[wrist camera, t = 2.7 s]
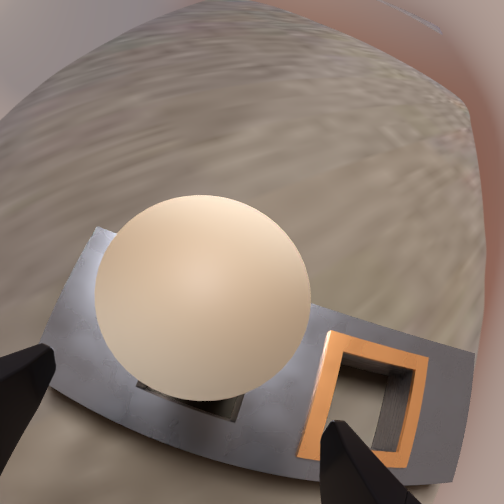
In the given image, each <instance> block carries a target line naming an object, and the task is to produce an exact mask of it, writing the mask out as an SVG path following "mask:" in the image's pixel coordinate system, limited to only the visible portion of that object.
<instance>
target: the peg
mask: <svg viewBox="0 0 504 504" xmlns="http://www.w3.org/2000/svg"><path fill="white" fill-rule="evenodd" d="M94 294H95V310H96V316H97V321H98V324H99V327H100V330H101V333H102V335H103V338H104V340H105V342H106V344H107V346H108V347H109V349H110V350H111V352H112V353H113V355H114V356H115V358H116V359H117V360H118V361H119V363H120V364H121V365H122V366H123V367H124V368H125V369H126V370H127V371H128V372H129V373H130V374H132V375H133V376H134V377H135V378H136V379H138V380H139V381H141V382H142V383H144V384H145V385H147V386H149V387H150V388H152V389H154V390H157V391H159V392H161V393H164V394H166V395H169V396H173V397H177V398H180V399H186V400H194V401H215V400H222V399H228V398H232V397H235V396H238V395H242V394H245V393H247V392H249V391H251V390H253V389H255V388H257V387H259V386H261V385H262V384H264V383H265V382H267V381H268V380H270V379H271V378H273V377H274V376H275V375H276V374H277V373H278V372H279V371H280V370H281V369H283V367H284V366H285V365H286V364H287V363H288V361H289V360H290V359H291V358H292V357H293V355H294V353H295V352H296V350H297V348H298V347H299V345H300V343H301V341H302V339H303V336H304V334H305V331H306V328H307V324H308V320H309V315H310V307H311V291H310V284H309V278H308V275H307V271H306V268H305V265H304V263H303V260H302V258H301V256H300V254H299V252H298V250H297V248H296V247H295V245H294V243H293V242H292V241H291V240H290V238H289V237H288V236H287V234H286V233H285V232H284V231H283V230H282V229H281V228H280V227H279V226H278V225H277V224H276V223H275V222H273V221H272V220H271V219H270V218H268V217H267V216H266V215H264V214H263V213H261V212H259V211H258V210H256V209H254V208H252V207H250V206H248V205H246V204H243V203H241V202H238V201H235V200H232V199H227V198H223V197H217V196H209V195H194V196H184V197H179V198H174V199H170V200H167V201H164V202H161V203H158V204H156V205H154V206H152V207H150V208H148V209H146V210H144V211H143V212H141V213H140V214H138V215H137V216H135V217H134V218H133V219H132V220H130V221H129V222H128V223H127V224H126V225H125V226H124V227H123V228H122V229H121V230H120V231H119V232H118V233H117V235H116V236H115V237H114V238H113V240H112V241H111V243H110V244H109V246H108V248H107V250H106V251H105V253H104V255H103V258H102V260H101V263H100V265H99V269H98V273H97V277H96V283H95V292H94Z"/></svg>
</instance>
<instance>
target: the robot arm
mask: <svg viewBox="0 0 504 504" xmlns="http://www.w3.org/2000/svg"><path fill="white" fill-rule="evenodd" d="M55 371H56V362H55V355H54V350H53V348H52V347H51V346H48V345H46V344H44V343H40V344H37V345H35V346H32V347H29V348H26V349H23V350H20V351H18V352H15V353H12V354H9V355H6V356H3V357H0V475H1V473H2V471H3V469H4V468H5V466H6V464H7V462H8V460H9V458H10V456H11V454H12V452H13V451H14V449H15V447H16V445H17V443H18V441H19V440H20V438H21V436H22V434H23V433H24V431H25V429H26V427H27V426H28V424H29V422H30V421H31V419H32V417H33V416H34V414H35V412H36V411H37V409H38V407H39V405H40V403H41V401H42V399H43V397H44V395H45V392H46V390H47V388H48V386H49V384H50V382H51V380H52V378H53V376H54V374H55ZM319 481H320V493H321V504H421V503H420V502H419V501H418V500H417V499H416V498H415V497H414V496H413V495H412V494H411V493H410V491H407V488H406V487H405V486H404V485H403V484H402V483H401V482H400V481H399V480H398V479H397V478H396V477H395V476H394V475H393V474H392V473H391V471H390V470H389V469H388V468H387V467H386V466H385V465H384V464H383V463H382V462H381V461H380V460H379V458H378V457H377V456H376V455H375V454H374V453H373V452H372V451H371V450H370V449H369V447H368V446H367V445H366V444H365V443H364V442H363V441H362V440H361V439H360V437H359V436H358V435H357V434H356V433H355V432H354V431H353V430H352V429H351V427H350V426H349V425H348V424H347V423H346V422H345V421H341V420H332V421H331V422H330V423H329V425H328V427H327V428H326V430H325V431H324V433H323V434H322V436H321V440H320V473H319Z"/></svg>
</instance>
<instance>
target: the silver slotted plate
mask: <svg viewBox="0 0 504 504" xmlns="http://www.w3.org/2000/svg"><path fill="white" fill-rule="evenodd" d="M116 235H117V234H116V233H113V232H111V231H108V230H106V229H103V228H100V227H98V226H97V227H96V229H95V231H94V232H93V234H92V236H91V238H90V239H89V241H88V243H87V245H86V246H85V248H84V250H83V252H82V254H81V255H80V257H79V259H78V261H77V263H76V265H75V267H74V269H73V270H72V272H71V274H70V276H69V278H68V280H67V282H66V284H65V286H64V288H63V290H62V292H61V294H60V297H59V299H58V301H57V303H56V305H55V307H54V309H53V312H52V314H51V316H50V318H49V321H48V323H47V325H46V328H45V330H44V332H43V335H42V337H41V340H40V342H39V344H40V343H44V344H46V345H48V346H51V347H52V348H53V350H54V355H55V362H56V371H55V374H54V376H53V378H52V380H51V382H50V384H49V386H51V387H53V388H54V389H56V390H57V391H59V392H61V393H62V394H64V395H66V396H67V397H69V398H71V399H73V400H74V401H76V402H78V403H80V404H81V405H83V406H85V407H87V408H89V409H91V410H93V411H94V412H96V413H98V414H100V415H102V416H104V417H106V418H108V419H110V420H112V421H114V422H116V423H119V424H121V425H123V426H125V427H127V428H129V429H132V430H134V431H136V432H138V433H141V434H143V435H145V436H148V437H150V438H153V439H155V440H158V441H160V442H163V443H166V444H168V445H171V446H174V447H176V448H179V449H182V450H185V451H188V452H191V453H194V454H197V455H200V456H203V457H206V458H210V459H213V460H216V461H220V462H223V463H227V464H231V465H235V466H238V467H242V468H247V469H251V470H255V471H260V472H264V473H269V474H274V475H280V476H285V477H291V478H297V479H304V480H311V481H319V473H320V440H321V436H322V433H323V430H324V426H325V423H326V419H327V416H328V412H329V408H330V405H331V401H332V397H333V393H334V389H335V385H336V381H337V377H338V372H339V368H340V364H342V365H346V366H350V367H353V368H357V369H361V370H366V371H370V372H374V373H378V374H382V375H387V376H388V379H387V385H386V390H385V395H384V399H383V404H382V408H381V413H380V417H379V421H378V425H377V429H376V433H375V437H374V441H373V444H372V448H369V449H370V450H371V451H372V452H373V453H374V454H375V455H376V456H377V457H378V458H379V460H380V461H381V462H382V463H383V464H384V465H385V466H386V467H387V468H388V469H389V470H390V471H391V473H392V474H393V475H394V476H395V477H396V478H397V479H398V480H399V481H400V482H401V483H402V484H403V485H425V484H438V483H448V482H452V480H453V477H454V474H455V470H456V467H457V463H458V459H459V455H460V451H461V447H462V442H463V438H464V433H465V428H466V422H467V417H468V411H469V404H470V397H471V390H472V381H473V371H474V358H475V353H471V352H468V351H464V350H461V349H457V348H454V347H450V346H447V345H443V344H440V343H437V342H433V341H430V340H426V339H423V338H420V337H416V336H413V335H410V334H406V333H403V332H400V331H396V330H393V329H390V328H387V327H383V326H380V325H377V324H374V323H371V322H367V321H364V320H361V319H358V318H355V317H352V316H348V315H345V314H342V313H339V312H336V311H333V310H330V309H327V308H324V307H321V306H318V305H315V304H312V303H311V307H310V315H309V320H308V324H307V328H306V331H305V334H304V336H303V339H302V341H301V343H300V345H299V347H298V348H297V350H296V352H295V353H294V355H293V357H292V358H291V359H290V360H289V361H288V363H287V364H286V365H285V366H284V367H283V369H281V370H280V371H279V372H278V373H277V374H276V375H275V376H274V377H273V378H271V379H270V380H268V381H267V382H265V383H264V384H262V385H261V386H259V387H257V388H255V389H253V390H251V391H249V392H247V393H245V394H242V395H238V396H237V399H236V402H235V405H234V408H233V411H232V414H231V417H230V419H229V418H225V417H222V416H219V415H216V414H213V413H210V412H207V411H204V410H201V409H198V408H195V407H192V406H189V405H187V404H184V403H181V402H179V401H176V400H173V399H171V398H168V397H166V396H163V395H161V394H158V393H156V392H153V391H151V390H149V389H146V386H147V385H145V384H144V383H142V382H141V381H139V380H138V379H136V378H135V377H134V376H133V375H132V374H130V373H129V372H128V371H127V370H126V369H125V368H124V367H123V366H122V365H121V364H120V363H119V361H118V360H117V359H116V358H115V356H114V355H113V353H112V352H111V350H110V349H109V347H108V346H107V344H106V342H105V340H104V338H103V335H102V333H101V330H100V327H99V324H98V321H97V316H96V310H95V294H94V292H95V283H96V277H97V273H98V269H99V265H100V263H101V260H102V258H103V255H104V253H105V251H106V250H107V248H108V246H109V244H110V243H111V241H112V240H113V238H114V237H115V236H116ZM319 482H320V481H319Z"/></svg>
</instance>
